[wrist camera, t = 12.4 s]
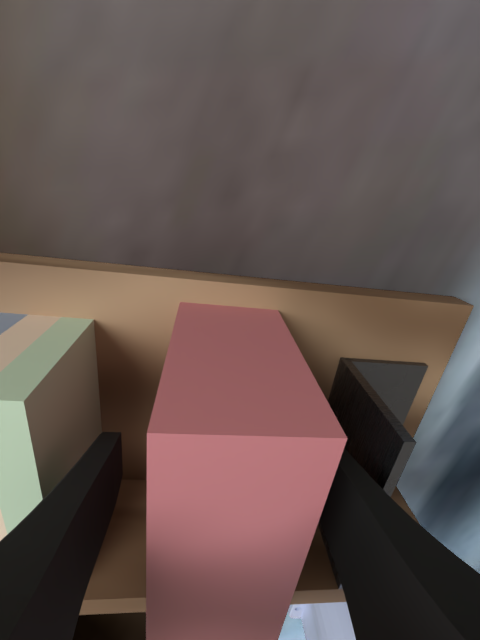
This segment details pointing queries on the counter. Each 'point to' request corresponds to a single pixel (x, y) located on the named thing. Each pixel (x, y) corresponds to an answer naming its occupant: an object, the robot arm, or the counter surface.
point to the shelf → (150, 353)
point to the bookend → (375, 417)
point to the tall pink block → (233, 475)
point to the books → (43, 407)
